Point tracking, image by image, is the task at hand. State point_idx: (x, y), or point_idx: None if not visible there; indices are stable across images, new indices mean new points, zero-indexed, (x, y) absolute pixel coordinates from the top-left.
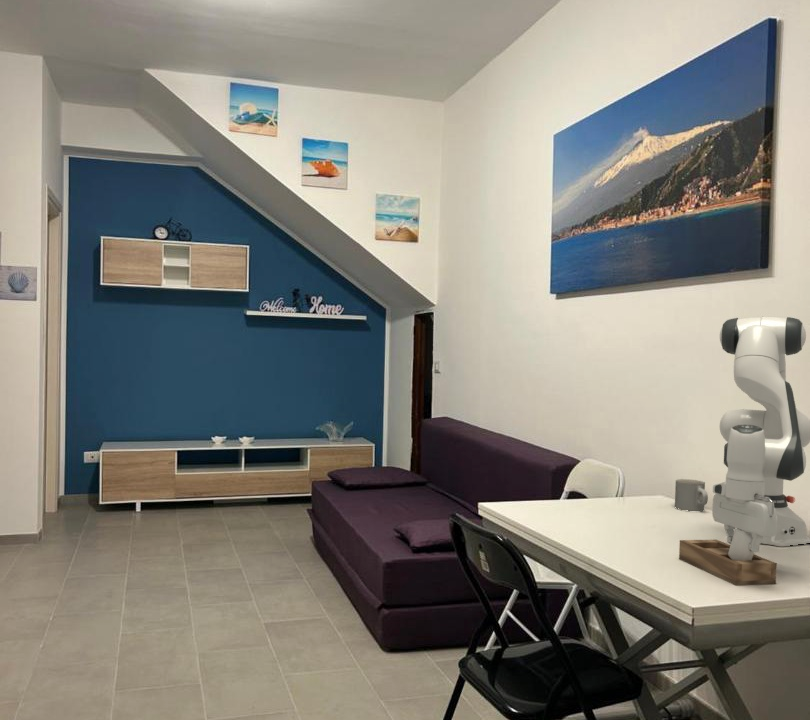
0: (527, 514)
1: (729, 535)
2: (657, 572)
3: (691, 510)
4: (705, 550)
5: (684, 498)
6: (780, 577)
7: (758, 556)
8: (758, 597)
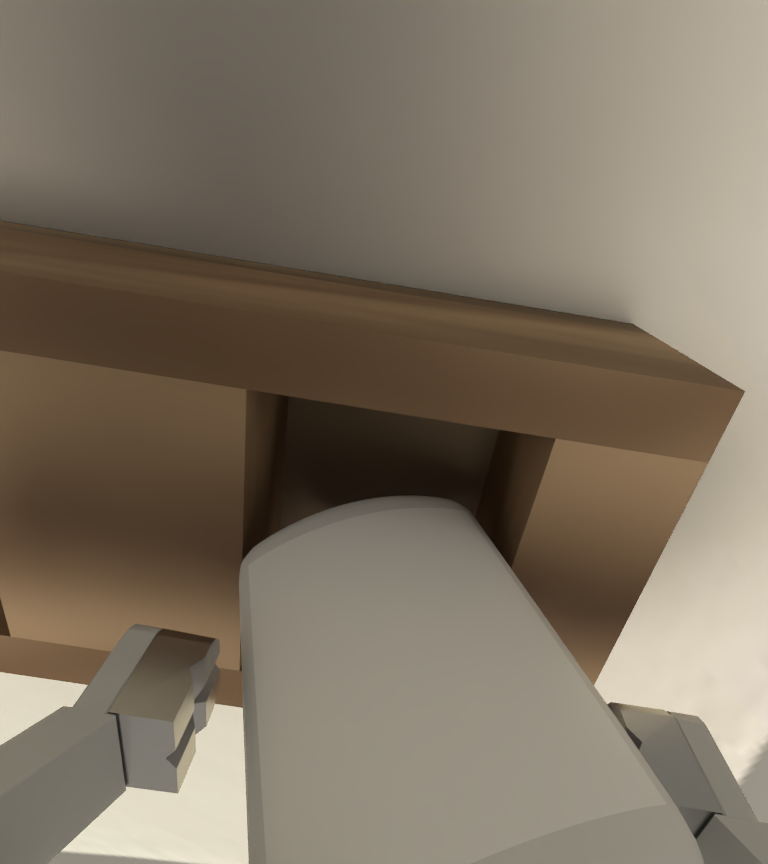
0: None
1: (106, 790)
2: (198, 772)
3: None
4: (89, 674)
5: None
6: (497, 52)
7: (395, 348)
8: (752, 662)
